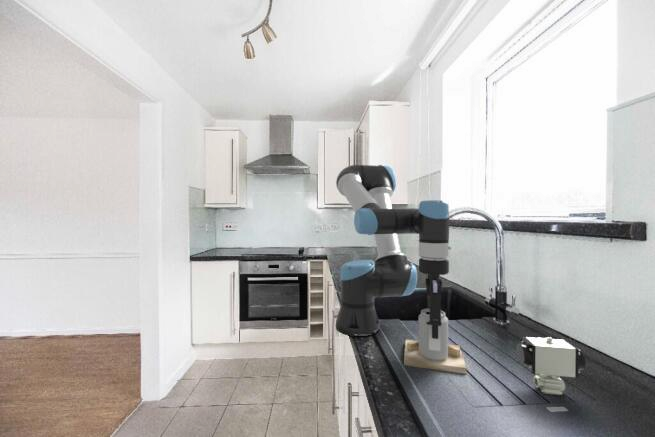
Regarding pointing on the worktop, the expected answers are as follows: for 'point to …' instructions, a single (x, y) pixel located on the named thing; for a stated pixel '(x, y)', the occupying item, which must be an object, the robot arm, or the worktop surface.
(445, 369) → the v block
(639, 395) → the worktop surface
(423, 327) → the can
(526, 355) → the pneumatic valve
